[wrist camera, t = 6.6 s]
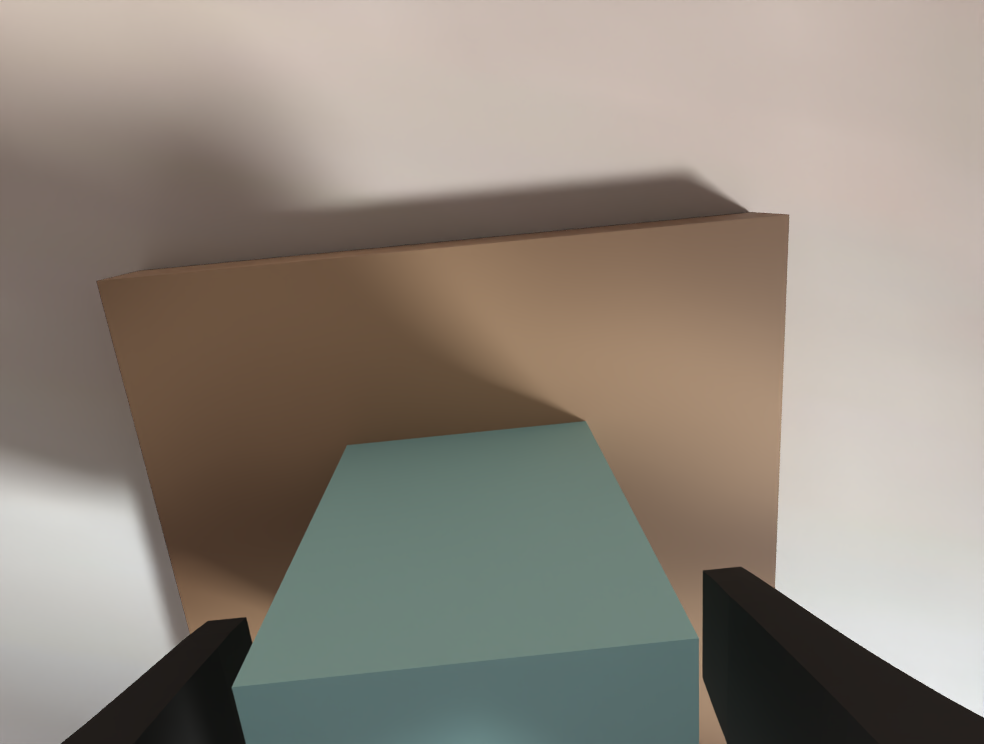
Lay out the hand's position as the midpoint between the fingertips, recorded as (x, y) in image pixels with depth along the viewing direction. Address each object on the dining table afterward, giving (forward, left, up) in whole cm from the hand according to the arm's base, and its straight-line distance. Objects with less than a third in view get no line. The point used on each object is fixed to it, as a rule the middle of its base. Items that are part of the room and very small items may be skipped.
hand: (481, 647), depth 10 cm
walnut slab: (0, 0, -4) cm, 4 cm away
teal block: (0, 0, -3) cm, 3 cm away
